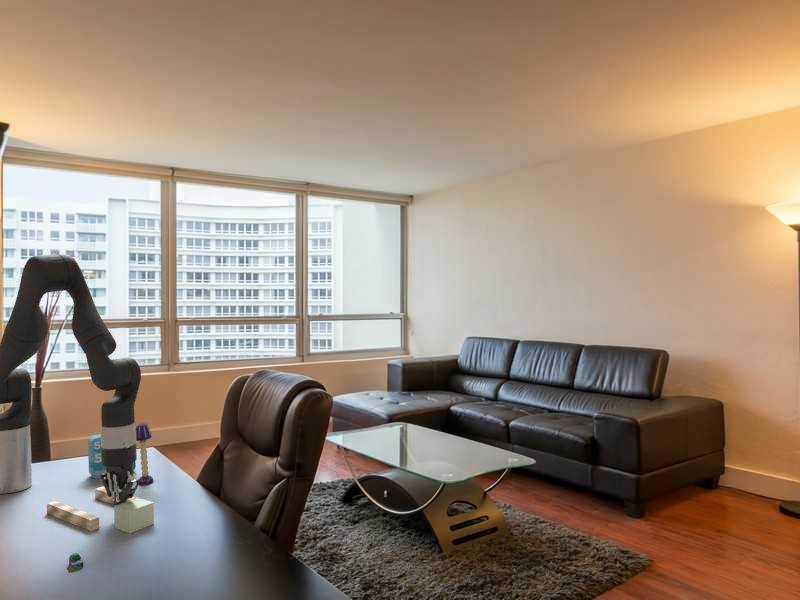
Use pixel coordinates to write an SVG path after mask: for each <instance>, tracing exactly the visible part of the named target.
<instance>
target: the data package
mask: <svg viewBox="0 0 800 600" xmlns="http://www.w3.org/2000/svg"><path fill="white" fill-rule="evenodd" d="M87 449H88V451H87V453H88V456H87V457H88V474H90V476H91V477H92V478H93V479H96V480H97V479H98V478H99V479H101V477H100V476H101V474H104V473H106V467H105V466H103V465H102V464H101V433H99V434H93V435H91V436H90V437H89V438H88V440H87ZM136 461H137V460H136ZM136 461H135V462H134V463H133V464H132V470H133V471H134V470H136V467H137V466H136ZM99 479H98V480H99Z"/></svg>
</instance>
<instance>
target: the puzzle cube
mask: <svg viewBox="0 0 800 600" xmlns="http://www.w3.org/2000/svg"><path fill="white" fill-rule="evenodd" d="M84 567H85V566H84V561H83V559H82V557H81V555H80V554H79V553H78V552H73V553H71V554H70V555H69V557H68V566H67V567H66V570H67V572H68V573H73V572H77V571H79V569H82V568H84Z"/></svg>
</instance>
